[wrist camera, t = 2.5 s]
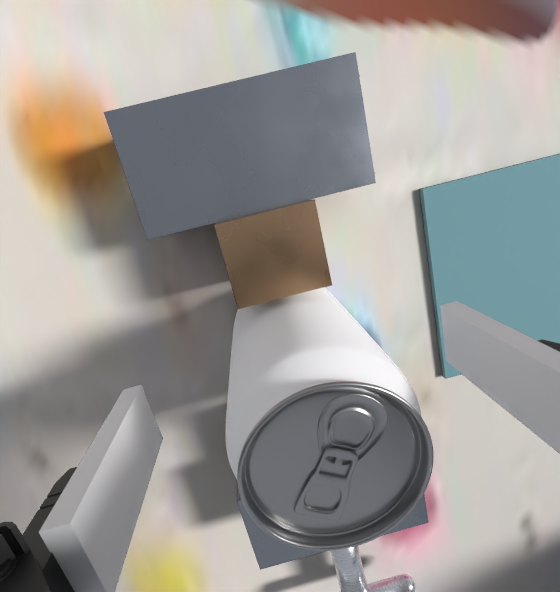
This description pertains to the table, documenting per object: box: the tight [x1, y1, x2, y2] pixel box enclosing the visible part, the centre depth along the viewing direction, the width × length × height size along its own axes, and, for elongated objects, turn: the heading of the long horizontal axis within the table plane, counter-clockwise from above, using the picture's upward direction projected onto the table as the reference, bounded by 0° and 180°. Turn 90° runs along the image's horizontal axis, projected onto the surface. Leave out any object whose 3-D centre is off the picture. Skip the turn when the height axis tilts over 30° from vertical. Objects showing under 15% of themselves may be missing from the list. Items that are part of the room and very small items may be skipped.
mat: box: [419, 154, 560, 379], centre depth 22 cm, size 12×12×1 cm
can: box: [226, 287, 433, 551], centre depth 16 cm, size 6×6×12 cm
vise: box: [104, 52, 428, 592], centre depth 20 cm, size 32×10×6 cm, turn 13°
